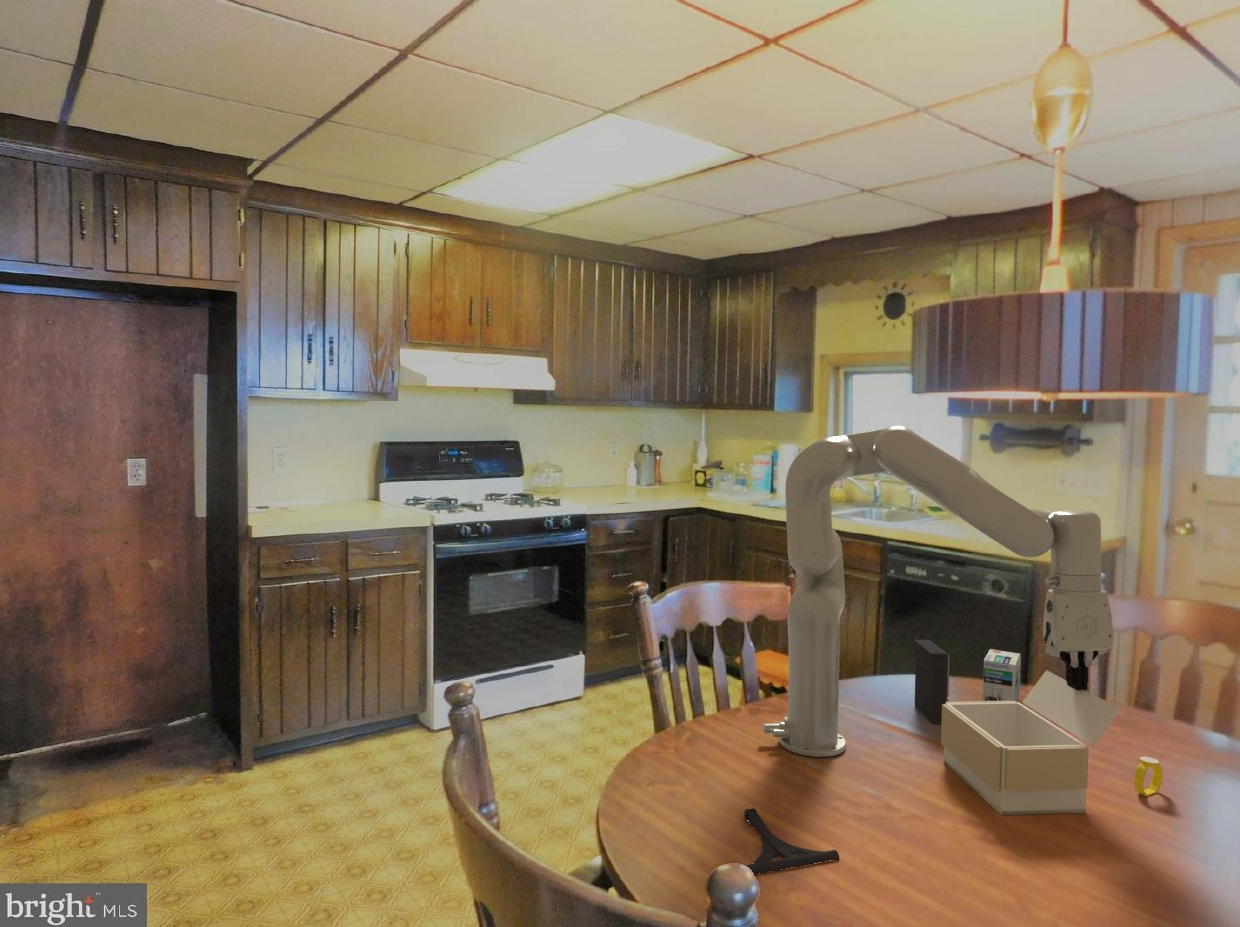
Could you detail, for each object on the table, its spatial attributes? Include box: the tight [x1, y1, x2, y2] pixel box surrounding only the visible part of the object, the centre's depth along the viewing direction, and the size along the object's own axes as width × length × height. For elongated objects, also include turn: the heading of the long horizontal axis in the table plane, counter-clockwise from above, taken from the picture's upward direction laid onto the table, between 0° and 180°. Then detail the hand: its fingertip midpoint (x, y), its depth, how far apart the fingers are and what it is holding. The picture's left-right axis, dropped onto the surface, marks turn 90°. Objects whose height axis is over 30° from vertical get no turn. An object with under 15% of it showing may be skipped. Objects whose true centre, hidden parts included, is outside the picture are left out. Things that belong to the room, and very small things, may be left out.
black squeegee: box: [743, 807, 840, 876], centre depth 121 cm, size 14×15×3 cm
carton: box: [940, 700, 1090, 816], centre depth 139 cm, size 15×22×11 cm
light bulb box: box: [982, 648, 1022, 703], centre depth 179 cm, size 11×7×11 cm, turn 149°
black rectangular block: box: [912, 639, 951, 725], centre depth 172 cm, size 11×4×15 cm, turn 179°
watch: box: [1133, 756, 1163, 797], centre depth 137 cm, size 6×3×6 cm, turn 118°
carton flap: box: [1022, 669, 1121, 748], centre depth 139 cm, size 7×19×1 cm
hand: (1077, 687), depth 139 cm, fingers closed
